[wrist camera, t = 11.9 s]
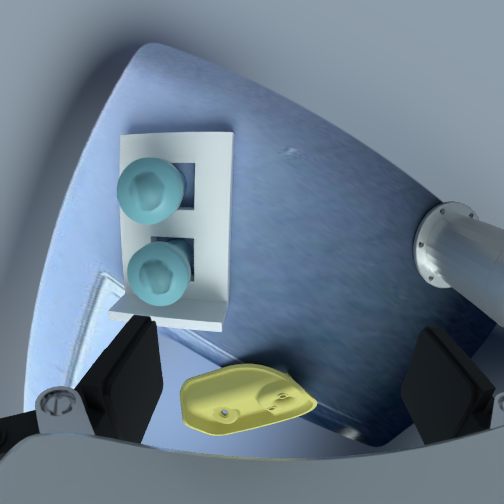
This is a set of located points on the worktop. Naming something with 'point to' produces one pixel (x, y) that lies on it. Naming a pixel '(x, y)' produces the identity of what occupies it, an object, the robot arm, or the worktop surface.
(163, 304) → the teal flanged peg
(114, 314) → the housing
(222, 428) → the plastic component
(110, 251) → the worktop surface
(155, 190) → the teal round plug
